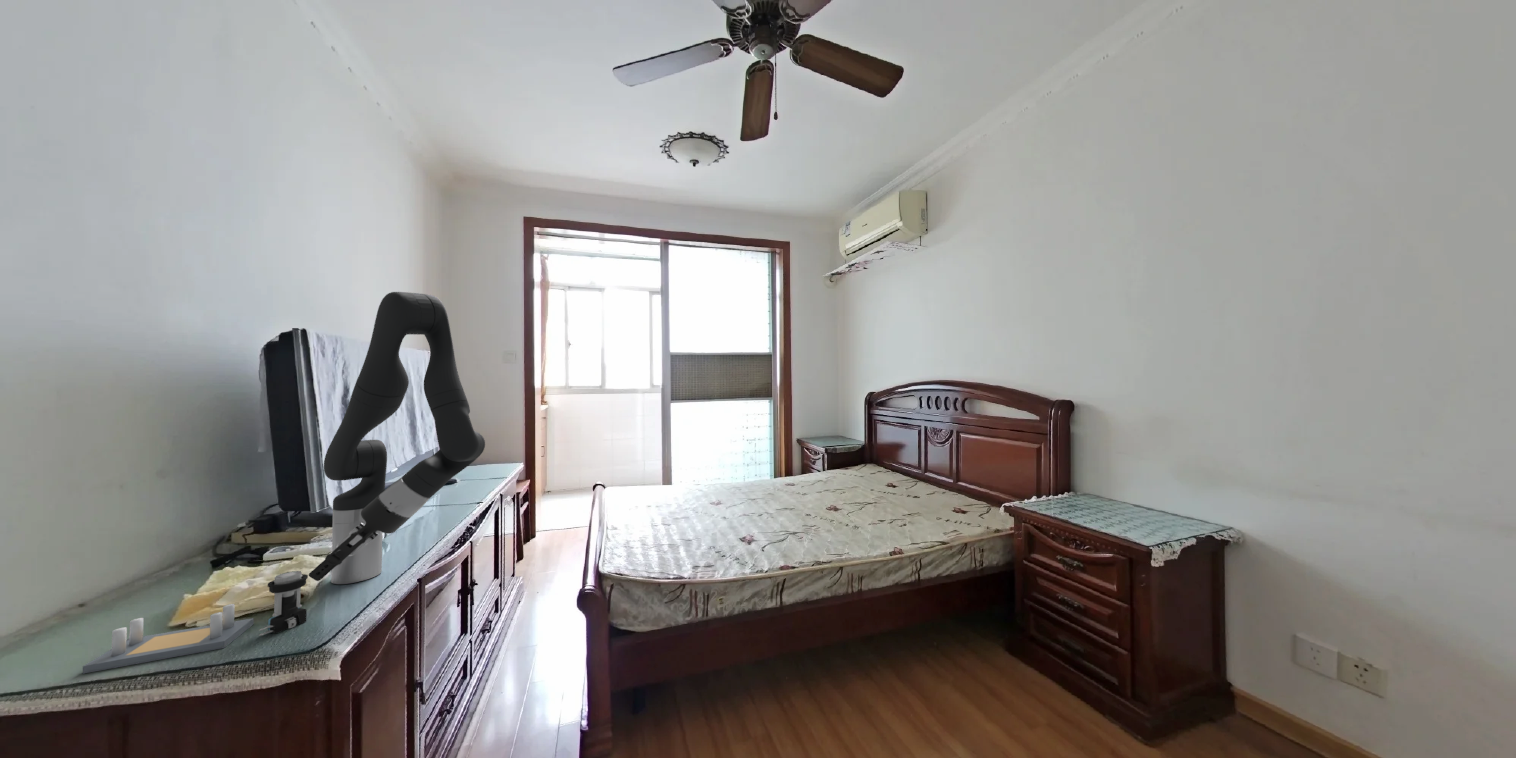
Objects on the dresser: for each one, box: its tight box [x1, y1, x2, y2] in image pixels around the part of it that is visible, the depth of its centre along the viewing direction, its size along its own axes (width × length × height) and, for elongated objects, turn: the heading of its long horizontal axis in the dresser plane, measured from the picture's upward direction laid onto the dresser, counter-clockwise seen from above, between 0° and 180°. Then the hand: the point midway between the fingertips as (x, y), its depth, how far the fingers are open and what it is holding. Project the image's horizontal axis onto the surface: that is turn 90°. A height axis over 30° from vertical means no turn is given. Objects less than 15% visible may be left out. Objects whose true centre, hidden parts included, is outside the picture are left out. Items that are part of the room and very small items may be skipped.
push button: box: [258, 570, 309, 637], centre depth 85 cm, size 7×5×10 cm
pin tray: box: [82, 603, 254, 674], centre depth 79 cm, size 9×16×5 cm, turn 116°
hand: (323, 569), depth 88 cm, fingers open, 8 cm apart
